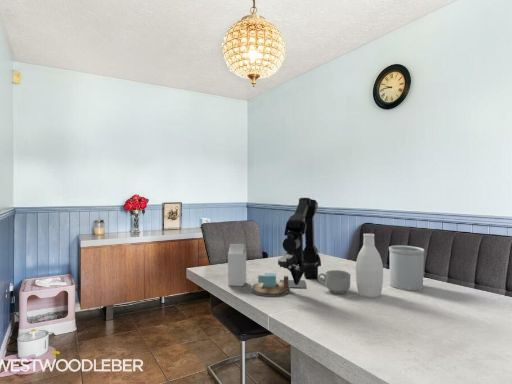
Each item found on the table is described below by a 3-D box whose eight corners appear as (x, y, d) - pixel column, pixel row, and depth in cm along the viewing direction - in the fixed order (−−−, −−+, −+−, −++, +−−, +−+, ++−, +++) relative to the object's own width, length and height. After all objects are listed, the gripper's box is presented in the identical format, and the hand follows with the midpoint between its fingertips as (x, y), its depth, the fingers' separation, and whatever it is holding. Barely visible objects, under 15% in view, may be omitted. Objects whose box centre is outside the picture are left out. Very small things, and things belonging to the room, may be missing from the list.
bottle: (363, 288, 144) (362, 231, 144) (388, 294, 136) (387, 234, 136) (350, 294, 136) (350, 234, 136) (376, 300, 128) (375, 236, 128)
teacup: (352, 289, 143) (352, 271, 144) (348, 296, 134) (348, 277, 134) (321, 285, 149) (321, 268, 149) (315, 292, 140) (315, 274, 140)
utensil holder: (429, 285, 148) (428, 247, 148) (418, 293, 137) (418, 252, 137) (396, 280, 158) (395, 244, 158) (384, 286, 147) (383, 248, 147)
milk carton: (242, 286, 149) (242, 245, 149) (228, 285, 150) (227, 245, 150) (246, 282, 156) (246, 243, 156) (232, 281, 157) (232, 242, 157)
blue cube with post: (276, 285, 145) (276, 273, 145) (275, 288, 140) (275, 276, 140) (258, 284, 146) (258, 273, 146) (257, 288, 141) (257, 276, 141)
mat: (304, 281, 157) (304, 280, 157) (306, 288, 146) (306, 287, 146) (279, 280, 158) (279, 279, 158) (279, 287, 147) (279, 287, 147)
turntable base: (289, 285, 151) (289, 283, 151) (290, 296, 134) (290, 295, 134) (253, 284, 152) (253, 283, 152) (249, 296, 135) (249, 294, 135)
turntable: (288, 283, 150) (288, 272, 150) (288, 294, 134) (288, 281, 134) (254, 283, 152) (253, 271, 152) (250, 293, 136) (250, 281, 136)
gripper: (268, 246, 141) (268, 282, 141) (295, 253, 125) (296, 293, 125) (288, 244, 147) (288, 278, 147) (316, 250, 131) (317, 288, 131)
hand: (296, 284), depth 137 cm, fingers closed
